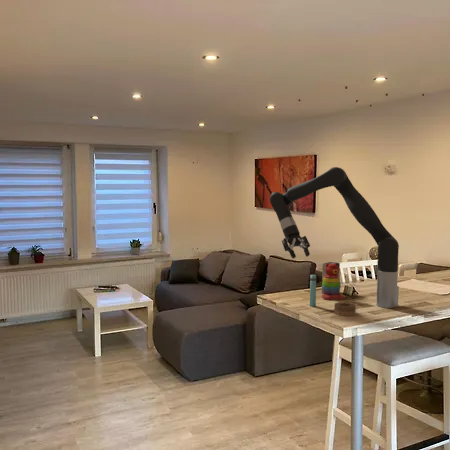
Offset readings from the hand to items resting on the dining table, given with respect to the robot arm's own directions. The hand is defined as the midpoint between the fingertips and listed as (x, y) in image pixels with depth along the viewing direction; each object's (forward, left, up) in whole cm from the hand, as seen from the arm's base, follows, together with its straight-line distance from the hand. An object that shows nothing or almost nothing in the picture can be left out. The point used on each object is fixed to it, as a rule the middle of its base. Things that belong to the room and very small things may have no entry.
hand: (301, 256), depth 232 cm
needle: (-2, +7, -23) cm, 24 cm away
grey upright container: (-28, -11, -23) cm, 38 cm away
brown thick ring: (-7, +24, -23) cm, 34 cm away
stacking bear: (-21, -2, -23) cm, 32 cm away
